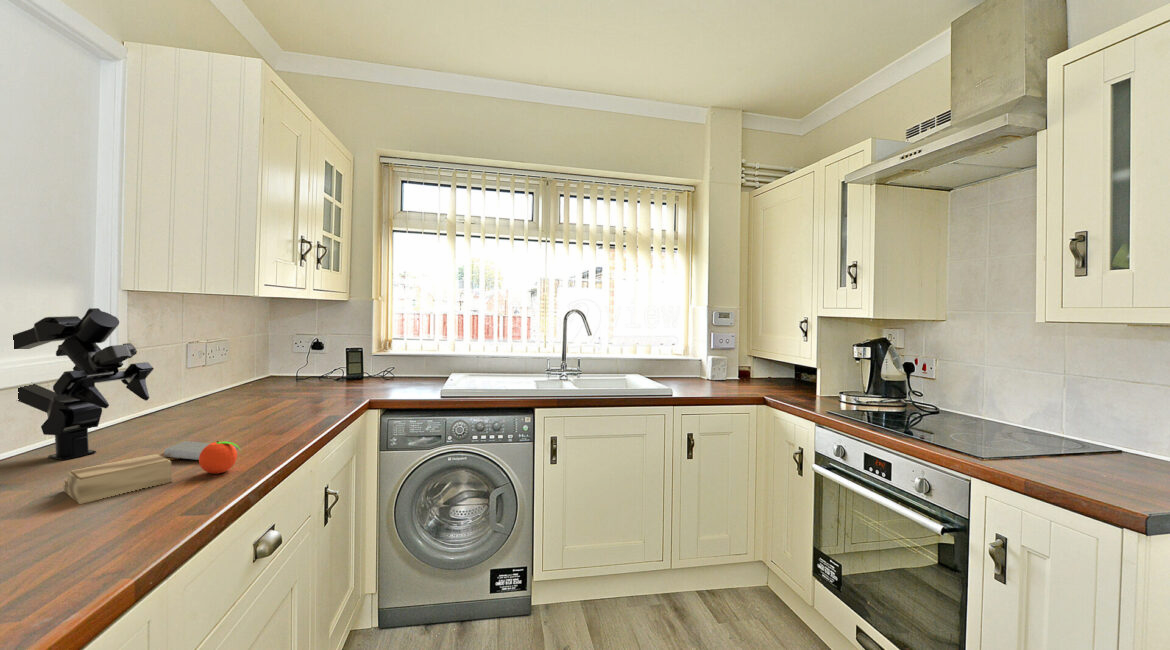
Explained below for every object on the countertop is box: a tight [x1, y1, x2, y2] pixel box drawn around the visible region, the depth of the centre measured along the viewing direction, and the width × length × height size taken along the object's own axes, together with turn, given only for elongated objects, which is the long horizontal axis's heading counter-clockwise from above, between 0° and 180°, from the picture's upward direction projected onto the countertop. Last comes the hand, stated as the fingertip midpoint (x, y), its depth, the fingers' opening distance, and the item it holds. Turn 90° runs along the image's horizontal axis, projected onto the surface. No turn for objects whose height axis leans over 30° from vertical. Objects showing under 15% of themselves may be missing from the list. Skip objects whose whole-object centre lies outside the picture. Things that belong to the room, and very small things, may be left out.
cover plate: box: [163, 440, 237, 461], centre depth 123 cm, size 2×6×13 cm
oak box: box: [63, 453, 173, 505], centre depth 104 cm, size 12×14×5 cm
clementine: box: [198, 440, 242, 475], centre depth 112 cm, size 8×7×7 cm
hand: (128, 403), depth 121 cm, fingers open, 9 cm apart
